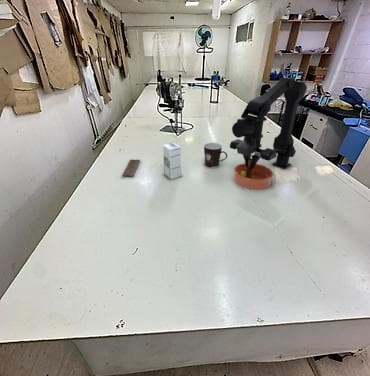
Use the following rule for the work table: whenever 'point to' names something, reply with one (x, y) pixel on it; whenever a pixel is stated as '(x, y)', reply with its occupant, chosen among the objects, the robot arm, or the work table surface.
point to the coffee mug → (212, 154)
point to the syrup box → (172, 160)
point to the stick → (249, 168)
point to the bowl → (254, 177)
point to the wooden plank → (131, 168)
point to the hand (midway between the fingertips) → (249, 167)
